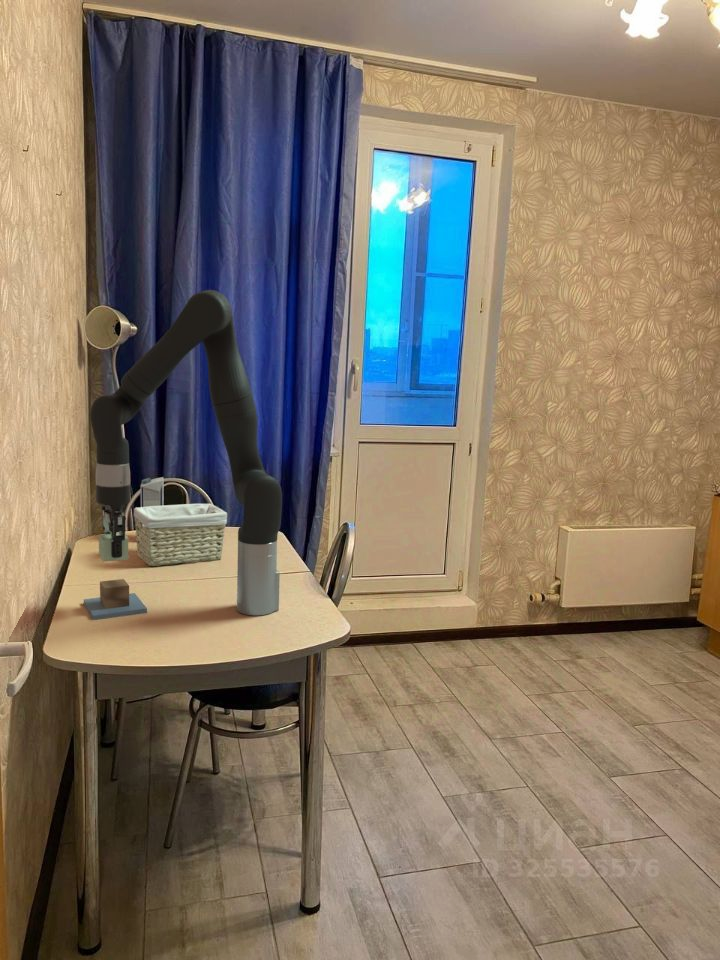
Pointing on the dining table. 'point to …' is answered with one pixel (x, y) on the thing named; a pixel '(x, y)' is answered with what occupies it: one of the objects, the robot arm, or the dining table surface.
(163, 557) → the storage basket
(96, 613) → the base board
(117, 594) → the walnut block
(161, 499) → the milk carton
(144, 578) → the dining table surface
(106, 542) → the sage green block
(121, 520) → the robot arm
